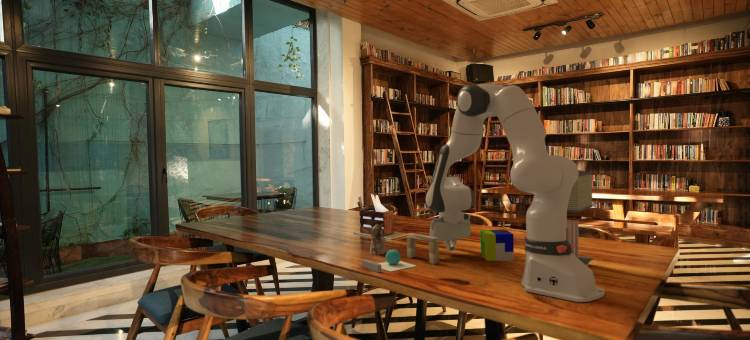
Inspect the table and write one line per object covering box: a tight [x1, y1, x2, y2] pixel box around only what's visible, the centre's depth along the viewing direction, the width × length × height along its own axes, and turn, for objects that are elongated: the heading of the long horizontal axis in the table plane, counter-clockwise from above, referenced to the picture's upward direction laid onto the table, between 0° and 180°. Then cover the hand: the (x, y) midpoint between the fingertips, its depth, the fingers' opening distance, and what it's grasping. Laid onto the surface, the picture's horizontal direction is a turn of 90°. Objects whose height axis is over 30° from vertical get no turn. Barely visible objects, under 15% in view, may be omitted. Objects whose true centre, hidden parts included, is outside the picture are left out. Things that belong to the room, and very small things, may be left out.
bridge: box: [406, 232, 440, 265], centre depth 161 cm, size 3×15×9 cm, turn 35°
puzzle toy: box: [480, 229, 515, 262], centre depth 163 cm, size 10×10×10 cm
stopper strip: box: [361, 258, 382, 273], centre depth 148 cm, size 10×2×2 cm, turn 35°
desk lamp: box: [566, 172, 594, 267], centre depth 147 cm, size 18×14×33 cm
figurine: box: [369, 223, 388, 256], centre depth 174 cm, size 7×7×12 cm
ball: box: [385, 248, 402, 265], centre depth 154 cm, size 6×6×6 cm
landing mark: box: [377, 260, 417, 273], centre depth 153 cm, size 12×12×1 cm
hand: (450, 250), depth 169 cm, fingers closed
